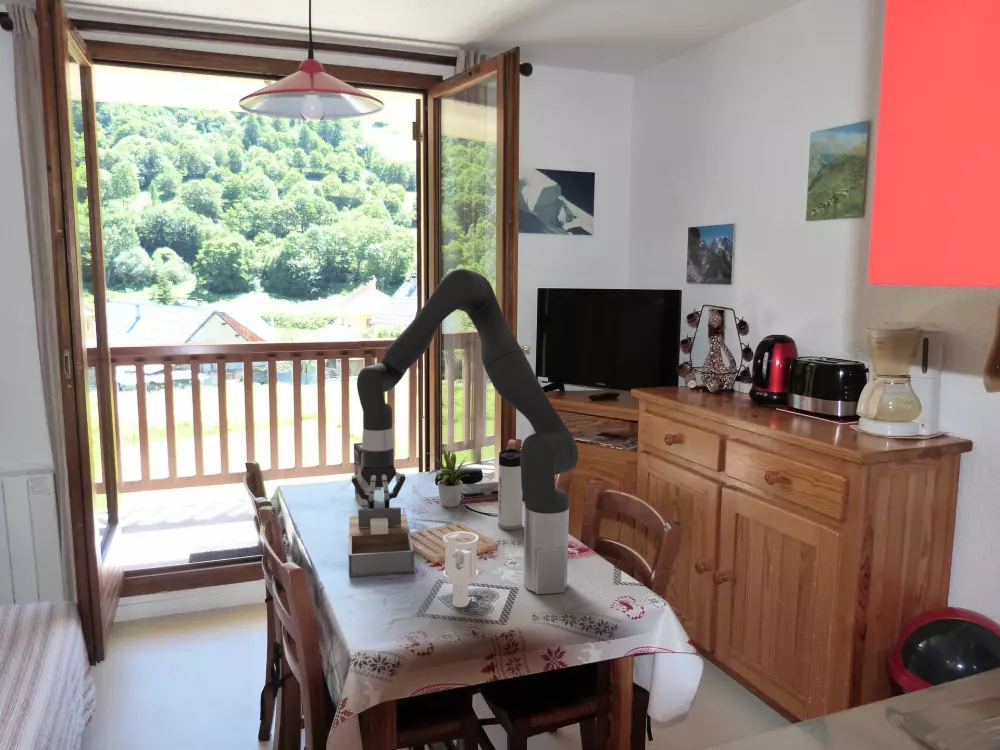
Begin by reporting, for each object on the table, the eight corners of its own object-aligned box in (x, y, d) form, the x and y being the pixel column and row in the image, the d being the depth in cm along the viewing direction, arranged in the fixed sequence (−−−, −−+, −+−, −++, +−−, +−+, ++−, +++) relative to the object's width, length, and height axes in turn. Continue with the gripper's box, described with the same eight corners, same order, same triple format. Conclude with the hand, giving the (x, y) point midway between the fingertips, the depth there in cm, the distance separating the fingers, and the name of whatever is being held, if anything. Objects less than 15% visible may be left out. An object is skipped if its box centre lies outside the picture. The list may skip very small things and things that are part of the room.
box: (414, 573, 169) (413, 551, 168) (349, 577, 166) (348, 555, 166) (410, 553, 181) (410, 532, 180) (349, 556, 178) (349, 536, 177)
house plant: (414, 499, 222) (414, 444, 220) (458, 493, 228) (458, 439, 226) (433, 513, 210) (433, 455, 207) (479, 506, 216) (479, 450, 214)
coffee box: (354, 497, 224) (353, 443, 222) (375, 495, 226) (375, 441, 224) (359, 506, 215) (358, 450, 213) (382, 504, 218) (381, 448, 215)
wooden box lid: (410, 553, 181) (410, 532, 180) (349, 556, 178) (349, 536, 177) (406, 533, 194) (406, 513, 193) (349, 536, 192) (349, 516, 191)
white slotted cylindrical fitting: (435, 605, 153) (435, 533, 151) (457, 593, 159) (457, 523, 157) (464, 614, 149) (464, 540, 147) (485, 601, 155) (485, 530, 153)
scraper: (401, 525, 184) (400, 504, 183) (358, 527, 182) (358, 506, 181) (397, 508, 199) (397, 489, 198) (358, 510, 197) (358, 491, 196)
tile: (388, 533, 179) (388, 523, 179) (370, 534, 178) (370, 524, 178) (387, 527, 183) (387, 517, 183) (370, 528, 182) (370, 518, 182)
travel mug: (522, 522, 203) (523, 448, 200) (521, 530, 197) (522, 454, 194) (499, 521, 204) (500, 447, 201) (496, 529, 197) (497, 453, 194)
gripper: (348, 450, 182) (350, 521, 184) (407, 448, 184) (408, 518, 186) (349, 443, 189) (350, 511, 191) (406, 441, 191) (406, 508, 194)
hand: (379, 514), depth 189 cm, fingers closed on scraper, 2 cm apart
